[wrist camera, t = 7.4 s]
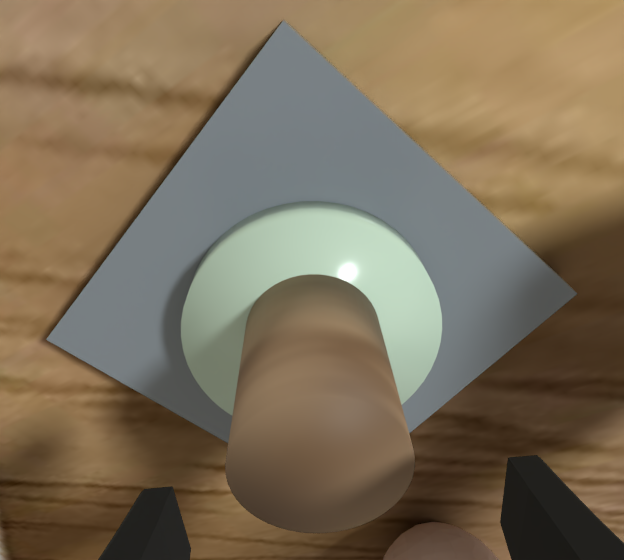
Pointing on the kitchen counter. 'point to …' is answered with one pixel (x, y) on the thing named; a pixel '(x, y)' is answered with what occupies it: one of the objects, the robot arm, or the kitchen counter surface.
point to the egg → (438, 544)
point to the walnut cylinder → (317, 411)
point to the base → (296, 161)
